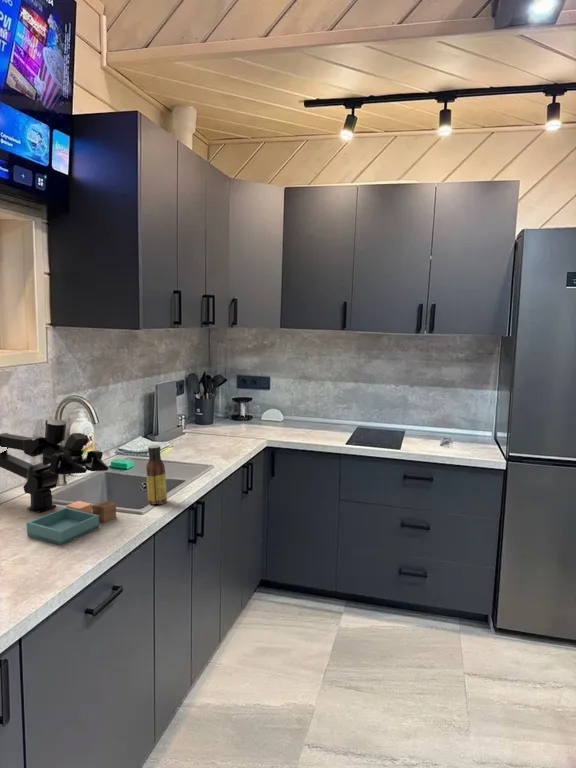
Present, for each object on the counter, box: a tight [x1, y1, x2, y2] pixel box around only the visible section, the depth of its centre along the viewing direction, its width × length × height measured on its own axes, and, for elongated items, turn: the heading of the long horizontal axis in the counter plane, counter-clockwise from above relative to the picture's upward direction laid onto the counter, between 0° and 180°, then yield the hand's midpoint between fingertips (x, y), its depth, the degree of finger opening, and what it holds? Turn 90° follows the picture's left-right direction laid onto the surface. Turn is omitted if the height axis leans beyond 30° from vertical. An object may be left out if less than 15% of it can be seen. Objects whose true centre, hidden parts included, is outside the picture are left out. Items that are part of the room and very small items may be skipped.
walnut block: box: [91, 500, 117, 524], centre depth 169 cm, size 5×5×5 cm
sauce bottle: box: [145, 444, 168, 505], centre depth 183 cm, size 7×6×20 cm
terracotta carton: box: [65, 500, 93, 514], centre depth 174 cm, size 6×5×3 cm
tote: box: [26, 506, 100, 546], centre depth 159 cm, size 14×14×4 cm
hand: (97, 470), depth 165 cm, fingers open, 9 cm apart
